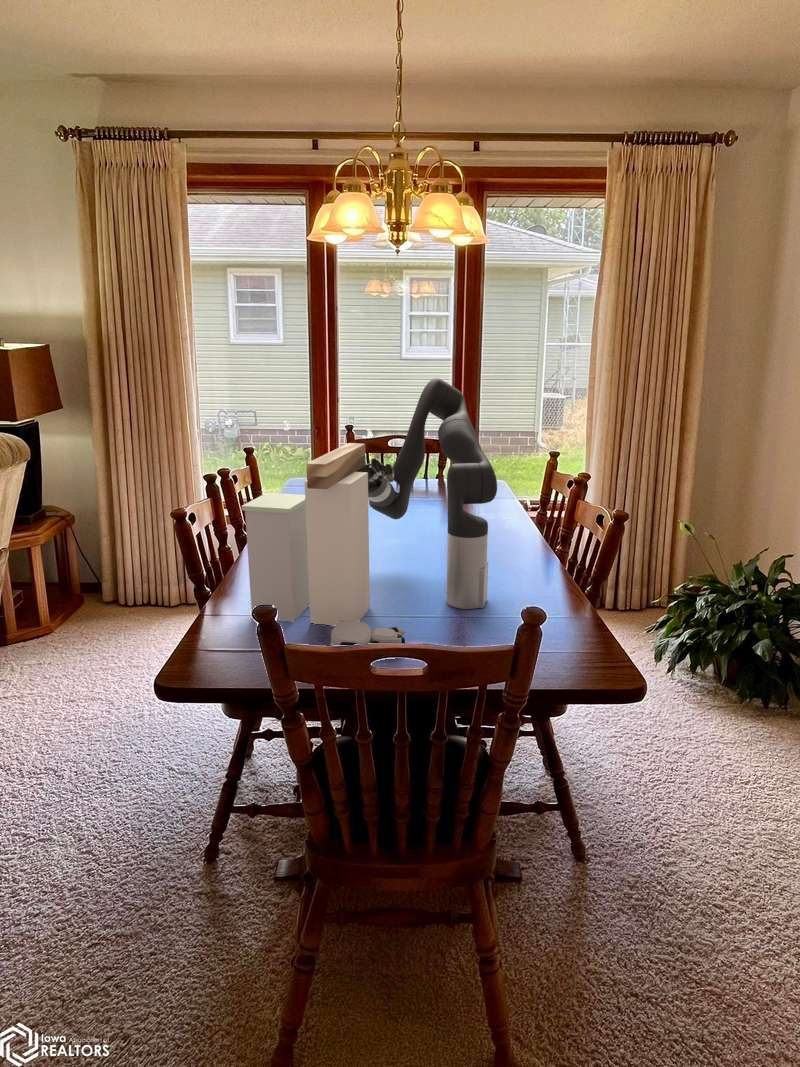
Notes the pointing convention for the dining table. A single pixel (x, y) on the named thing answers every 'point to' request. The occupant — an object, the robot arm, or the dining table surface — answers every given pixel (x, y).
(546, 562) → the dining table surface
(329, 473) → the wooden bar
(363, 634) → the robot toy
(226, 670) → the dining table surface
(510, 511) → the dining table surface
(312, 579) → the tall stand
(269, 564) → the low stand
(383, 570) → the dining table surface
